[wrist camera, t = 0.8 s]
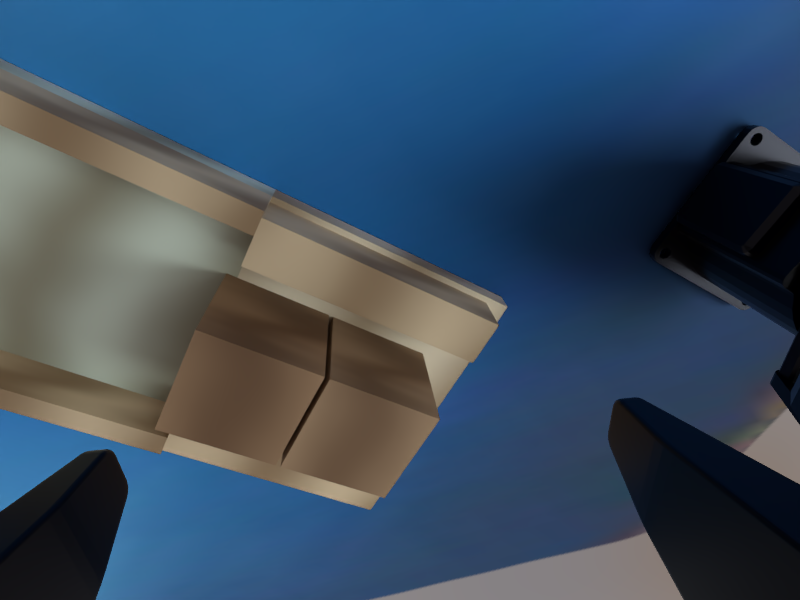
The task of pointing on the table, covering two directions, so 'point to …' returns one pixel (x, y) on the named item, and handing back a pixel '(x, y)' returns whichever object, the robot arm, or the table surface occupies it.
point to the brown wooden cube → (248, 372)
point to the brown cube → (364, 413)
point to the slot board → (177, 273)
